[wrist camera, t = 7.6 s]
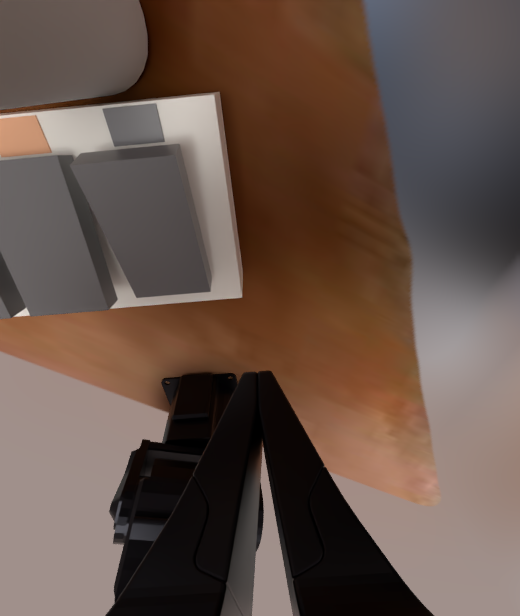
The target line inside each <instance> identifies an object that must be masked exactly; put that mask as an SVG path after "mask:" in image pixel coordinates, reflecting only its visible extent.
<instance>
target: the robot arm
mask: <svg viewBox="0 0 520 616" xmlns="http://www.w3.org/2000/svg"><path fill="white" fill-rule="evenodd" d="M230 376H231V377H233V378H232V379H228V377H230ZM166 381H168V382H170V384H166V383H165V382H166ZM161 383H162V386H163V388H164V391H165V393H166V396H167V398H168V401H169V403H170V406H171V407H170V411H169V416H168V420H167V424H166V428H165V433H164V437H163V441H162V443H158V442H150V440H144V439H143V440H142V443H141V446H140V448H139V449H137V450H135V451H132V452H131V456H130V459H129V462H128V465H127V468H126V471H125V474H124V476H123V479H122V481H121V483H120V486H119V488H118V490H117V492H116V494H115V496H114V499H113V501H112V503H111V507H110V511H109V512H110V514H111V516H112V518H113V520H114V530H115V534H114V541H113V544H124V547H123V551H122V555H121V559H120V563H119V568H118V572H117V576H116V581H115V585H114V594H115V604H114V605H113V606H112V608H111V609H110V610H109V612H108V613H107V614H106V616H252V602H253V587H254V572H255V556H256V551H257V549H258V547H259V544H260V540H261V535H262V528H263V513H264V512H263V511H264V510H263V497H262V490H261V483H260V478H261V463H262V440H263V447H264V453H265V459H266V465H267V470H268V476H269V481H270V487H271V493H272V498H273V504H274V510H275V516H276V521H277V527H278V533H279V538H280V544H281V550H282V555H283V560H284V567H285V572H286V578H287V584H288V589H289V595H290V601H291V606H292V612H293V616H434V615H433V614H432V613H431V612H430V611H429V610H428V609H427V608H426V607H425V606H424V605H423V604H422V603H421V602H420V600H419V599H418V598H417V597H416V596H415V595H414V593H413V592H412V591H411V590H410V589H409V587H408V586H407V585H406V584H405V582H404V581H403V580H402V579H401V577H400V576H399V574H398V573H397V572H396V570H395V569H394V568H393V566H392V565H391V564H390V562H389V561H388V559H387V558H386V557H385V555H384V554H383V553H382V551H381V550H380V548H379V547H378V546H377V544H376V543H375V542H374V540H373V539H372V537H371V536H370V535H369V533H368V532H367V530H366V529H365V528H364V526H363V525H362V524H361V522H360V521H359V519H358V518H357V516H356V515H355V513H354V512H353V511H352V509H351V508H350V506H349V505H348V503H347V502H346V500H345V499H344V497H343V495H342V494H341V492H340V491H339V489H338V487H337V486H336V484H335V482H334V481H333V479H332V477H331V475H330V474H329V472H328V470H327V468H326V467H324V463H323V461H322V460H321V458H320V456H319V454H318V453H317V451H316V449H315V447H314V446H313V444H312V442H311V440H310V439H309V437H308V435H307V433H306V431H305V430H304V428H303V426H302V424H301V423H300V421H299V419H298V417H297V416H296V414H295V412H294V410H293V408H292V407H291V405H290V403H289V401H288V400H287V398H286V396H285V394H284V393H283V391H282V389H281V387H280V386H279V384H278V382H277V380H276V378H275V377H274V375H273V373H272V372H271V371H259V372H258V374H257V372H245V373H243V375H242V377H241V379H240V381H239V383H238V384H237V378H236V375H235V374H233V373H225V374H201V375H188V376H182V377H174V378H164V379H163V380H162V382H161Z"/></svg>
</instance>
